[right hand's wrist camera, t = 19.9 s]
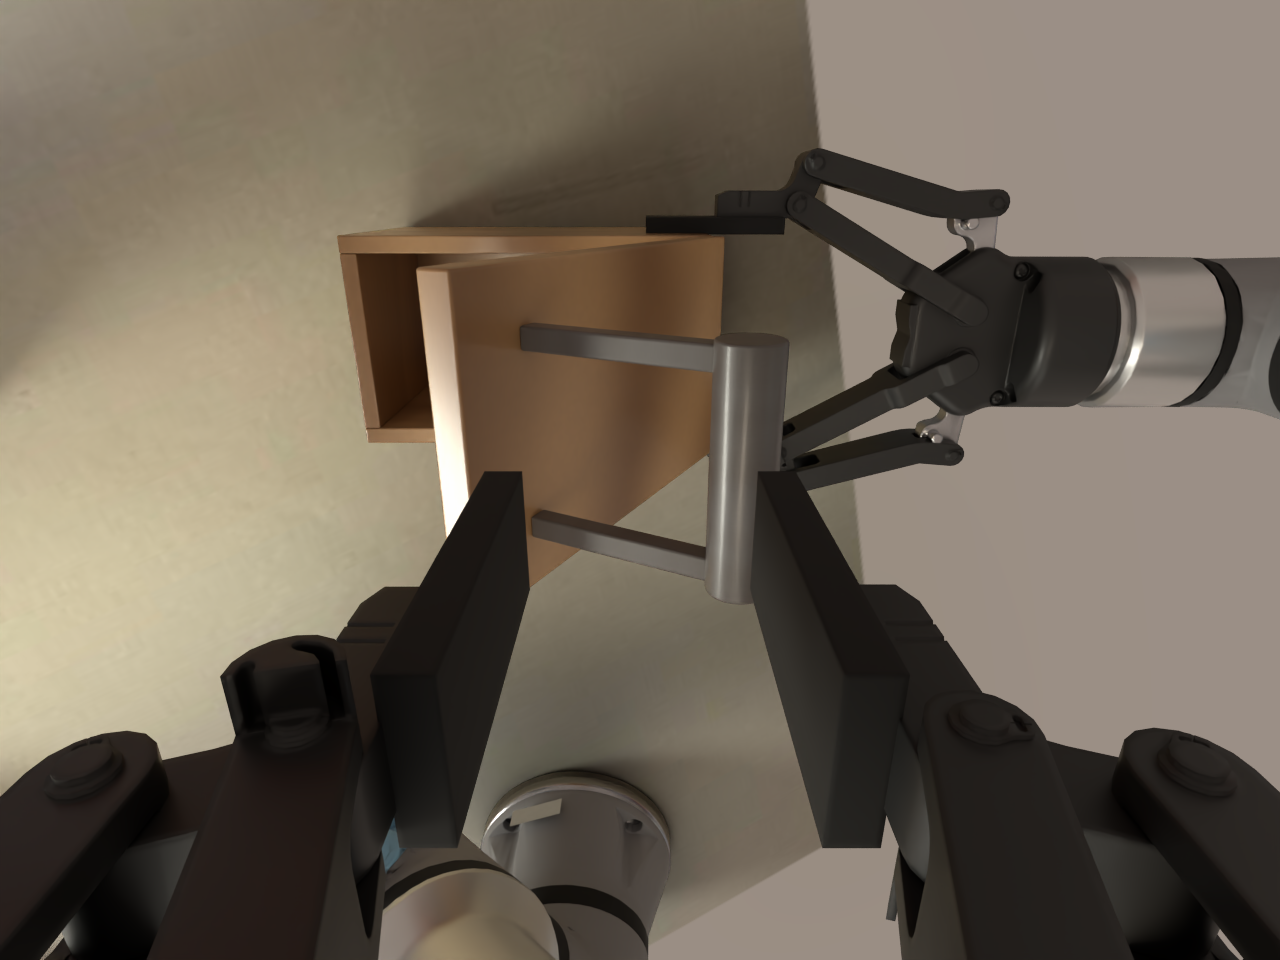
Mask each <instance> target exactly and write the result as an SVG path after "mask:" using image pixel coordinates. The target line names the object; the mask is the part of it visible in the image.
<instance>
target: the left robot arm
mask: <svg viewBox="0 0 1280 960" xmlns="http://www.w3.org/2000/svg"><path fill="white" fill-rule="evenodd" d="M820 184H824V185H828V186H831V187H834V188H838V189H841V190H844V191H847V192H851V193H854V194H857V195H860V196H863V197H867V198H870V199H873V200H876V201H880V202H883V203H886V204H890V205H893V206H896V207H899V208H902V209H906V210H909V211H912V212H915V213H919V214H922V215H926V216H930V217H938V218H947V228H948V230H949V231H950V233H952V234H955V235H959V236H961V237H963V238H964V239H965V241H966V244H967V248H966V249H964V250H963V251H961V252H960V253H958V254H957V255H955V256H954V257H952V258H951V259H949V260H948V261H946V262H945V263H943V264H942V265H940V266H939V267H937V268H936V269H934V270H933V271H932V270H931V269H929V268H927V267H926V266H924V265H922V264H921V263H918V262H916V261H914V260H913V259H911V258H909V257H908V256H906V255H905V254H903V253H902V252H900V251H898V250H897V249H895V248H894V247H892V246H890V245H889V244H887V243H886V242H884V241H883V240H881V239H879V238H878V237H876V236H875V235H873V234H871V233H870V232H868V231H867V230H865V229H864V228H862V227H860V226H859V225H857V224H856V223H854V222H853V221H851V220H849V219H848V218H846V217H845V216H843V215H842V214H840V213H838V212H837V211H835V210H834V209H832V208H830V207H829V206H827V205H826V204H824V203H823V202H821V201H819V200H818V199H816V198H815V195H816V193H817V191H818V188H819V186H820ZM1009 204H1010V197H1009V195H1008V193H1007V192H1006V191H1004V190H1000V189H990V190H967V191H956V190H952V189H949V188H946V187H943V186H940V185H936V184H933V183H930V182H927V181H924V180H920V179H917V178H914V177H911V176H908V175H904V174H901V173H898V172H895V171H892V170H889V169H885V168H882V167H879V166H876V165H873V164H870V163H866V162H863V161H860V160H857V159H854V158H850V157H847V156H844V155H841V154H838V153H834V152H831V151H828V150H825V149H819V148H817V149H813V150H809V151H806V152H803V153H801V154H800V155H799V156H798V157H797V159H796V161H795V166H794V170H793V172H792V174H791V177H790V179H789V181H788V183H787V184H786V185H785V186H784V187H783V188H782V189H780V190H777V191H724V192H722V193H719V194H717V195H715V213H714V216H646V233H707V234H784V227H785V218H788V219H790V220H792V221H793V222H795V223H796V224H798V225H800V226H801V227H803V228H804V229H806V230H808V231H809V232H811V233H812V234H814V235H816V236H817V237H819V238H820V239H822V240H824V241H825V242H827V243H829V244H830V245H832V246H833V247H835V248H837V249H838V250H840V251H841V252H843V253H845V254H846V255H848V256H849V257H851V258H853V259H854V260H856V261H857V262H859V263H861V264H862V265H864V266H866V267H867V268H869V269H870V270H872V271H874V272H875V273H877V274H878V275H880V276H882V277H883V278H884V279H885V280H887V281H888V282H890V283H892V284H893V285H895V286H896V287H898V288H900V289H901V290H903V291H904V292H905V293H904V295H903V297H902V299H901V300H897V307H896V322H897V332H896V335H895V337H894V340H893V342H892V345H891V352H890V359H891V360H892V361H893V363H892V364H890V365H888V366H886V367H884V368H882V369H880V370H878V371H876V372H875V373H874V374H873V375H872V377H871V378H869V379H867V380H865V381H863V382H861V383H859V384H857V385H856V386H854V387H852V388H850V389H848V390H846V391H844V392H842V393H840V394H838V395H836V396H834V397H832V398H830V399H828V400H826V401H824V402H822V403H820V404H818V405H816V406H814V407H812V408H810V409H808V410H806V411H805V412H803V413H801V414H799V415H797V416H795V417H793V418H791V419H789V420H787V421H785V422H783V433H782V446H781V459H780V471H796V473H797V475H798V477H799V478H800V480H801V482H802V484H803V486H804V487H805V489H806V491H808V490H812V489H816V488H820V487H824V486H828V485H832V484H836V483H840V482H845V481H849V480H853V479H857V478H861V477H865V476H869V475H873V474H877V473H881V472H885V471H889V470H894V469H898V468H902V467H906V466H910V465H914V464H918V463H922V464H935V465H947V466H952V465H956V464H958V463H959V462H960V461H961V460H962V459H963V457H964V451H963V448H962V447H960V446H959V445H958V444H957V443H958V439H959V435H960V431H961V427H962V423H963V420H964V416H965V415H968V414H970V413H972V412H974V411H976V410H979V409H981V408H985V407H991V406H997V407H1069V406H1073V405H1076V404H1078V405H1080V406H1083V407H1157V406H1165V407H1180V406H1181V407H1231V408H1241V409H1248V410H1253V411H1257V412H1260V413H1263V414H1266V415H1269V416H1272V417H1274V418H1277V419H1280V257H1278V258H1232V259H1203V258H1187V257H1186V258H1185V257H1103V258H1099V259H1097V260H1094V259H1092V258H1089V257H1011V256H1007V255H1005V254H1004V253H1002V252H1001V251H999V250H997V249H995V240H996V230H997V220H998V216H1001V215H1002V214H1003V213H1005V212H1006V210H1007V209H1008V208H1009ZM924 397H927V398H928V399H930V400H931V401H932V402H934V403H935V404H936V405H937V406H939V407H940V410H939V413H938V414H937V415H936V416H935V417H933V418H931V419H927V420H923V421H920V422H918V423H917V425H916V428H915V429H900V430H895V431H890V432H887V433H882V434H878V435H874V436H870V437H866V438H862V439H859V440H854V441H850V442H846V443H842V444H838V445H834V446H830V447H826V448H822V449H818V450H814V451H810V452H807V451H809V450H811V449H813V448H815V447H817V446H819V445H821V444H823V443H825V442H827V441H829V440H831V439H833V438H835V437H837V436H839V435H841V434H843V433H845V432H847V431H850V430H852V429H854V428H856V427H857V426H860V425H862V424H864V423H866V422H868V421H870V420H871V419H874V418H876V417H878V416H880V415H882V414H884V413H886V412H888V411H890V410H892V409H896V408H904V407H906V406H908V405H910V404H912V403H914V402H916V401H918V400H920V399H922V398H924ZM805 452H806V453H805ZM707 456H708V457H709V453H708V454H707ZM382 854H383V859H384V866H385V872H386V884H385V894H384V905H383V915H382V925H381V936H380V946H379V957H378V960H648V935H649V932H650V929H651V926H652V923H653V920H654V917H655V914H656V911H657V908H658V905H659V902H660V899H661V896H662V893H663V890H664V887H665V884H666V881H667V879H668V876H669V872H670V865H671V858H670V836H669V830H668V827H667V824H666V822H665V819H664V817H663V816H662V814H661V812H660V811H659V809H658V808H657V807H656V805H655V804H654V803H653V802H652V801H651V800H650V799H649V798H648V797H647V796H645V795H644V794H643V793H642V792H640V791H639V790H637V789H636V788H634V787H633V786H631V785H629V784H627V783H625V782H623V781H621V780H618V779H615V778H613V777H609V776H606V775H602V774H597V773H591V772H582V771H565V772H556V773H550V774H546V775H542V776H538V777H535V778H533V779H530V780H528V781H526V782H523V783H521V784H520V785H518V786H516V787H515V788H513V789H512V790H510V791H509V792H508V793H507V794H505V795H504V796H503V797H502V798H501V799H500V800H499V802H498V803H497V804H496V805H495V807H494V808H493V810H492V812H491V813H490V815H489V818H488V820H487V823H486V827H485V831H484V835H483V839H482V844H481V848H480V849H479V848H478V847H477V846H476V845H475V844H474V843H472V842H471V841H470V840H469V839H468V838H467V837H466V836H465V835H463V834H461V837H460V841H459V845H458V848H399V843H398V837H397V832H396V826H395V820H394V819H393V821H392V824H391V826H390V829H389V831H388V834H387V836H386V839H385V841H384V844H383V846H382Z"/></svg>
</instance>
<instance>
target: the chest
mask: <svg viewBox="0 0 1280 960" xmlns="http://www.w3.org/2000/svg"><path fill="white" fill-rule="evenodd" d="M699 236H711V235H709V234H707V233H646V227H402V228H394V229H386V230H378V231H370V232H362V233H354V234H346V235H339V236H337V239H338V245H339V252H340V253H341V254H340V259H341V266H342V272H343V279H344V286H345V293H346V299H347V306H348V313H349V320H350V326H351V333H352V340H353V347H354V353H355V360H356V367H357V374H358V380H359V387H360V394H361V401H362V407H363V414H364V421H365V427H366V434H367V440H368V442H369V443H407V442H435V435H434V426H433V417H432V408H431V399H430V390H429V381H428V372H427V363H426V354H425V345H424V337H423V328H422V319H421V310H420V301H419V292H418V283H417V274H416V270H417V268H419V267H424V266H433V265H442V264H451V263H461V262H470V261H479V260H488V259H497V258H506V257H515V256H525V255H534V254H543V253H552V252H561V251H570V250H580V249H589V248H598V247H607V246H616V245H625V244H634V243H644V242H653V241H662V240H671V239H680V238H689V237H699Z"/></svg>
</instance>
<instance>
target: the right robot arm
mask: <svg viewBox="0 0 1280 960" xmlns="http://www.w3.org/2000/svg"><path fill="white" fill-rule="evenodd" d="M529 591H530V583H529V567H528V552H527V537H526V522H525V507H524V491H523V476H522V471H484V473H483V475H482V477H481V478H480V480H479V482H478V484H477V486H476V487H475V489H474V491H473V493H472V494H471V496H470V498H469V500H468V502H467V503H466V505H465V507H464V509H463V510H462V512H461V514H460V516H459V517H458V519H457V521H456V523H455V525H454V526H453V528H452V530H451V532H450V533H449V535H448V537H447V539H446V541H445V542H444V544H443V546H442V548H441V549H440V551H439V553H438V555H437V557H436V558H435V560H434V562H433V564H432V565H431V567H430V569H429V571H428V572H427V574H426V576H425V578H424V580H423V581H422V583H421V585H420V587H384V588H382V589H381V590H380V591H378V592H377V593H375V594H374V595H372V596H371V597H369V598H368V599H367V600H365V601H364V602H362V603H361V604H360V605H359V607H358V608H357V610H356V611H355V613H354V614H353V616H352V617H351V619H350V620H349V622H348V625H347V627H344V629H343V630H342V632H341V633H340V635H339V636H338V638H337V639H336V640H337V641H336V640H335V639H332V638H328V637H324V636H320V635H296V636H291V637H287V638H282V639H278V640H273V641H271V642H268V643H266V644H263V645H261V646H259V647H256V648H254V649H251V650H249V651H248V652H246V653H245V654H243V655H242V656H241V657H239V658H238V659H236V660H235V661H233V662H232V663H231V664H230V665H229V666H228V668H227V669H226V670H225V671H224V673H223V674H222V675H221V676H220V678H221V682H222V685H223V689H224V693H225V697H226V701H227V704H228V708H229V712H230V716H231V719H232V723H233V727H234V731H235V734H236V737H235V739H234V742H233V744H230V745H226V746H223V747H219V748H216V749H212V750H207V751H203V752H198V753H193V754H189V755H184V756H180V757H175V758H171V759H166V760H162V758H161V755H160V752H159V749H158V746H157V743H156V742H155V741H154V740H153V739H152V738H150V737H149V736H148V735H147V734H144V733H138V732H131V731H121V732H113V733H105V734H100V735H97V736H93V737H90V738H88V739H87V738H86V739H83V740H81V741H78V742H75V743H73V744H71V745H69V746H67V747H65V748H63V749H61V750H59V751H57V752H55V753H53V754H51V755H50V756H48V757H46V758H45V759H44V760H42V761H41V762H40V763H38V764H37V765H36V766H34V767H33V768H32V769H30V770H29V771H28V772H26V773H25V774H24V775H23V776H22V777H21V778H20V779H19V780H18V781H17V782H16V783H14V784H13V785H12V786H11V787H10V788H9V789H8V790H7V791H6V792H5V793H4V794H3V795H2V796H1V797H0V960H40V959H41V957H42V956H43V955H44V954H45V952H46V951H47V950H48V949H49V947H50V946H51V945H52V943H53V942H54V941H55V940H56V938H57V937H58V936H59V934H60V933H61V932H62V934H63V936H64V938H63V939H62V940H61V941H60V943H59V944H58V945H57V947H56V948H55V949H54V950H53V952H52V953H51V954H50V955H49V956H48V957H46V958H45V959H44V960H378V957H379V946H380V936H381V925H382V915H383V905H384V894H385V884H386V872H385V866H384V859H383V854H382V846H383V844H384V841H385V839H386V836H387V834H388V831H389V829H390V826H391V824H392V821H393V819H394V820H395V826H396V832H397V837H398V843H399V848H458V845H459V841H460V837H461V834H462V830H463V827H464V823H465V819H466V816H467V812H468V809H469V805H470V802H471V798H472V794H473V791H474V787H475V784H476V780H477V777H478V773H479V769H480V766H481V762H482V759H483V755H484V752H485V748H486V744H487V741H488V737H489V734H490V730H491V727H492V723H493V719H494V716H495V712H496V709H497V705H498V701H499V698H500V694H501V691H502V687H503V684H504V680H505V676H506V673H507V669H508V666H509V662H510V659H511V655H512V651H513V648H514V644H515V641H516V637H517V634H518V630H519V626H520V623H521V619H522V616H523V612H524V609H525V605H526V601H527V598H528V594H529ZM750 591H751V594H752V598H753V601H754V605H755V609H756V612H757V616H758V619H759V623H760V626H761V630H762V634H763V637H764V641H765V644H766V648H767V651H768V655H769V659H770V662H771V666H772V669H773V673H774V676H775V680H776V684H777V687H778V691H779V694H780V698H781V701H782V705H783V709H784V712H785V716H786V719H787V723H788V727H789V730H790V734H791V737H792V741H793V744H794V748H795V752H796V755H797V759H798V762H799V766H800V769H801V773H802V777H803V780H804V784H805V787H806V791H807V794H808V798H809V802H810V805H811V809H812V812H813V816H814V820H815V823H816V827H817V830H818V834H819V837H820V841H821V845H822V848H881V843H882V837H883V832H884V826H885V820H886V815H887V817H888V820H889V823H890V825H891V828H892V830H893V833H894V835H895V838H896V840H897V843H898V845H899V848H898V854H897V859H896V865H895V870H894V876H893V881H892V887H891V892H890V898H889V903H888V910H887V916H886V919H888V920H892V921H895V920H896V915H897V913H898V924H899V934H900V944H901V955H902V960H1239V959H1238V958H1237V957H1236V956H1235V955H1234V954H1233V953H1232V952H1231V951H1230V950H1229V949H1228V948H1227V946H1226V945H1225V944H1224V942H1223V941H1222V940H1221V939H1220V937H1219V936H1218V935H1217V934H1218V932H1219V929H1221V931H1222V932H1223V933H1224V934H1225V936H1226V937H1227V938H1228V939H1229V941H1230V942H1231V943H1232V944H1233V946H1234V947H1235V948H1236V950H1237V951H1238V952H1239V953H1240V955H1241V956H1242V957H1243V958H1244V959H1243V960H1280V792H1279V791H1278V790H1277V789H1276V788H1274V787H1273V786H1272V785H1271V784H1270V783H1269V782H1268V781H1267V780H1266V779H1265V778H1264V777H1263V776H1262V775H1261V774H1260V773H1258V772H1257V771H1256V770H1255V769H1254V768H1252V767H1251V766H1250V765H1248V764H1247V763H1246V762H1244V761H1243V760H1242V759H1240V758H1239V757H1238V756H1236V755H1235V754H1234V753H1232V752H1230V751H1228V750H1226V749H1224V748H1222V747H1220V746H1218V745H1216V744H1214V743H1212V742H1210V741H1208V740H1206V739H1203V738H1200V737H1198V736H1193V735H1191V734H1188V733H1184V732H1181V731H1176V730H1168V729H1160V728H1150V729H1143V730H1137V731H1134V732H1133V733H1132V734H1131V735H1129V736H1128V737H1127V738H1126V739H1125V740H1124V743H1123V746H1122V749H1121V752H1120V755H1119V757H1114V756H1110V755H1105V754H1100V753H1096V752H1091V751H1087V750H1082V749H1077V748H1073V747H1068V746H1064V745H1061V744H1057V743H1054V742H1050V741H1047V740H1046V738H1045V736H1044V734H1043V732H1042V731H1041V729H1040V728H1039V726H1038V725H1037V724H1036V722H1035V721H1034V719H1032V718H1031V717H1030V716H1028V715H1027V714H1026V713H1025V712H1023V711H1022V710H1021V709H1019V708H1018V707H1017V706H1015V705H1013V704H1011V703H1009V702H1007V701H1005V700H1002V699H1000V698H998V697H996V696H993V695H989V694H985V693H982V691H981V690H980V688H979V687H978V685H977V684H976V682H975V681H974V680H973V678H972V677H971V675H970V674H969V672H968V671H967V669H966V668H965V667H964V665H963V664H962V662H961V661H960V659H959V658H958V656H957V655H956V653H955V652H954V651H953V649H952V648H951V646H950V645H949V643H948V642H947V641H944V636H943V635H942V633H941V632H940V630H939V629H938V627H937V626H936V625H935V624H933V620H932V619H931V617H930V616H929V614H928V613H927V611H926V610H925V608H924V607H923V606H922V604H921V603H920V601H918V600H917V599H916V598H914V597H913V596H911V595H910V594H908V593H907V592H905V591H904V590H903V589H901V588H900V587H898V586H897V585H859V583H858V581H857V580H856V578H855V576H854V574H853V572H852V571H851V569H850V567H849V565H848V564H847V562H846V560H845V558H844V557H843V555H842V553H841V551H840V549H839V548H838V546H837V544H836V542H835V541H834V539H833V537H832V535H831V533H830V532H829V530H828V528H827V526H826V525H825V523H824V521H823V519H822V517H821V516H820V514H819V512H818V510H817V509H816V507H815V505H814V503H813V502H812V500H811V498H810V496H809V494H808V493H807V491H806V489H805V487H804V486H803V484H802V482H801V480H800V478H799V477H798V475H797V473H796V471H758V476H757V491H756V507H755V522H754V537H753V552H752V567H751V583H750Z"/></svg>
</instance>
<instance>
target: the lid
mask: <svg viewBox="0 0 1280 960" xmlns="http://www.w3.org/2000/svg"><path fill="white" fill-rule="evenodd" d="M723 262H724V237H723V236H699V237H689V238H680V239H671V240H662V241H653V242H644V243H634V244H625V245H616V246H607V247H598V248H589V249H580V250H570V251H561V252H552V253H543V254H534V255H525V256H515V257H506V258H497V259H488V260H479V261H470V262H461V263H451V264H442V265H433V266H424V267H419V268H417V270H416V274H417V283H418V292H419V301H420V310H421V319H422V328H423V337H424V345H425V354H426V363H427V372H428V381H429V390H430V399H431V408H432V417H433V426H434V435H435V444H436V453H437V462H438V471H439V480H440V489H441V498H442V507H443V516H444V525H445V534H446V539H447V537H448V535H449V533H450V532H451V530H452V528H453V526H454V525H455V523H456V521H457V519H458V517H459V516H460V514H461V512H462V510H463V509H464V507H465V505H466V503H467V502H468V500H469V498H470V496H471V494H472V493H473V491H474V489H475V487H476V486H477V484H478V482H479V480H480V478H481V477H482V475H483V473H484V471H522V476H523V491H524V507H525V522H526V537H527V552H528V567H529V583H530V587H531V586H532V585H534V584H535V583H536V582H538V581H539V580H540V579H542V578H543V577H544V576H546V575H547V574H548V573H550V572H551V571H552V570H554V569H555V568H556V567H558V566H559V565H560V564H562V563H563V562H564V561H566V560H567V559H568V558H570V557H571V556H572V555H574V554H575V553H576V552H578V551H579V550H580V549H582V550H586V551H590V552H594V553H598V554H602V555H606V556H610V557H614V558H618V559H622V560H626V561H630V562H633V563H637V564H641V565H645V566H649V567H653V568H657V569H661V570H665V571H669V572H673V573H677V574H680V575H684V576H688V577H692V578H696V579H700V580H704V581H705V582H704V585H705V589H706V591H707V592H708V593H709V594H710V595H711V596H712V597H714V598H715V599H717V600H720V601H723V602H726V603H731V604H751V603H754V601H753V598H752V594H751V591H750V583H751V567H752V552H753V537H754V522H755V507H756V491H757V476H758V471H780V459H781V446H782V433H783V420H784V407H785V394H786V382H787V369H788V356H789V340H788V339H786V338H784V337H781V336H778V335H772V334H764V333H730V334H724V335H720V334H721V310H722V286H723ZM708 453H709V478H708V504H707V530H706V547H703V546H698V545H694V544H690V543H685V542H681V541H677V540H673V539H668V538H664V537H660V536H655V535H651V534H647V533H643V532H638V531H634V530H630V529H625V528H621V527H617V526H612V525H614V524H615V523H616V522H618V521H619V520H620V519H622V518H623V517H624V516H626V515H627V514H628V513H630V512H631V511H632V510H634V509H635V508H636V507H638V506H639V505H640V504H642V503H643V502H644V501H646V500H647V499H648V498H650V497H651V496H652V495H654V494H655V493H656V492H658V491H659V490H660V489H662V488H663V487H664V486H666V485H667V484H668V483H670V482H671V481H672V480H674V479H675V478H676V477H678V476H679V475H680V474H682V473H683V472H684V471H686V470H687V469H688V468H690V467H691V466H692V465H694V464H695V463H696V462H698V461H699V460H700V459H702V458H703V457H704V456H706V455H707V454H708Z"/></svg>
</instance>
